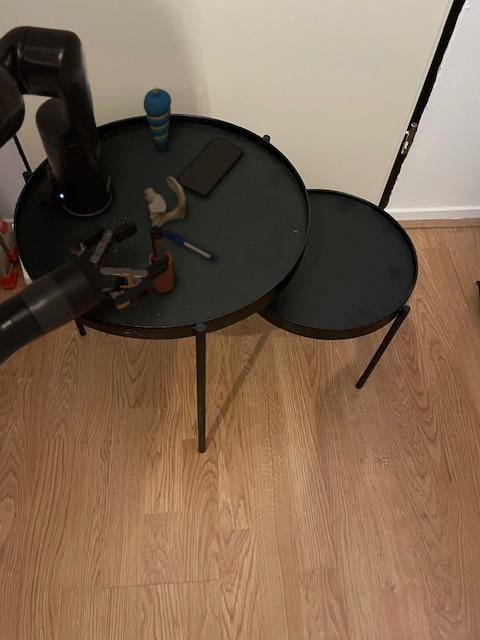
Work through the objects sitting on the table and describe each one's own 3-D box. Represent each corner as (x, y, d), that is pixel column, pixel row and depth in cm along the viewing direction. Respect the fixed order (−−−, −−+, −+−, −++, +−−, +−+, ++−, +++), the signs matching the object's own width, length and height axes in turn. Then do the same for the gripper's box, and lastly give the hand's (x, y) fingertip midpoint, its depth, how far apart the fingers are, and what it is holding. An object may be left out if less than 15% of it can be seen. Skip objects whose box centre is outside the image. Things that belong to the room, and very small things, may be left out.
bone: (127, 218, 101) (141, 167, 96) (145, 210, 107) (158, 161, 102) (167, 239, 100) (183, 188, 95) (183, 229, 106) (198, 181, 101)
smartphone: (174, 181, 108) (215, 135, 114) (174, 184, 109) (215, 139, 115) (206, 196, 106) (246, 149, 113) (206, 200, 107) (245, 153, 113)
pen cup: (149, 289, 96) (145, 265, 90) (156, 272, 98) (153, 248, 92) (170, 294, 95) (167, 270, 89) (176, 277, 97) (174, 253, 91)
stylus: (155, 285, 96) (147, 235, 84) (159, 275, 97) (152, 225, 85) (166, 287, 95) (160, 238, 84) (170, 278, 96) (165, 228, 85)
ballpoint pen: (165, 236, 102) (164, 233, 101) (167, 233, 102) (167, 230, 102) (213, 261, 100) (213, 258, 99) (215, 258, 100) (215, 255, 99)
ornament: (178, 144, 114) (173, 80, 101) (169, 161, 112) (164, 98, 99) (154, 139, 115) (147, 74, 102) (145, 155, 112) (136, 92, 99)
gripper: (79, 318, 74) (177, 258, 80) (26, 250, 79) (122, 199, 85) (90, 344, 81) (179, 287, 86) (40, 280, 86) (128, 230, 92)
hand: (151, 243), depth 86 cm, fingers open, 8 cm apart
